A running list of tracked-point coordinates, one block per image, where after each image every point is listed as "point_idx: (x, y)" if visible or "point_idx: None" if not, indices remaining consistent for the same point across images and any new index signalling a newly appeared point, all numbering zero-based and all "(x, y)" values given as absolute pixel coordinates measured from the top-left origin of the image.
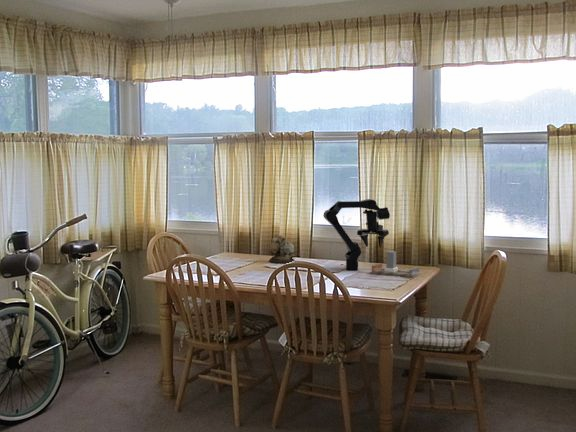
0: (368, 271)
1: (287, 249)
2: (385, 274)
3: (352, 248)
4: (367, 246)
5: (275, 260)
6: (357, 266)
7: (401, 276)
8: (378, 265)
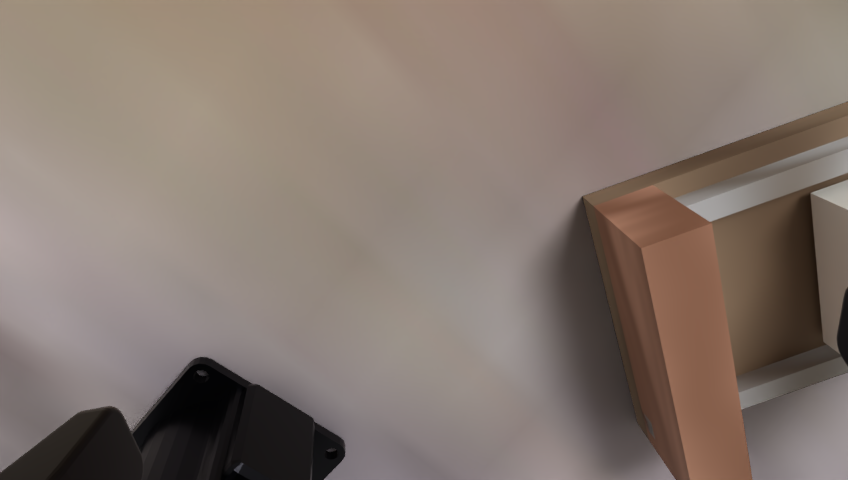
0: (504, 358)
1: None
2: None
3: None
4: (128, 440)
5: None
6: (310, 452)
7: None
8: (726, 365)
